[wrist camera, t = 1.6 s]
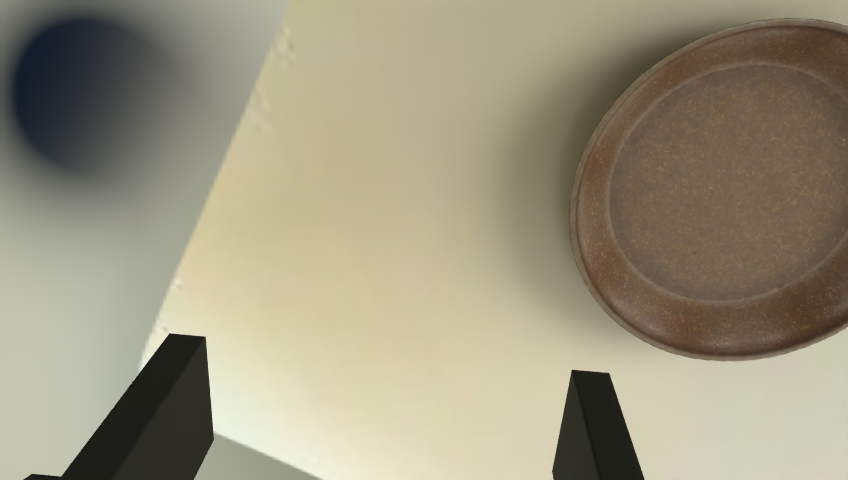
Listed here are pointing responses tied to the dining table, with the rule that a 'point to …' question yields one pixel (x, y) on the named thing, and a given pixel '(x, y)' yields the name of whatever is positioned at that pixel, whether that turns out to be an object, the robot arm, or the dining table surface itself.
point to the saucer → (723, 195)
